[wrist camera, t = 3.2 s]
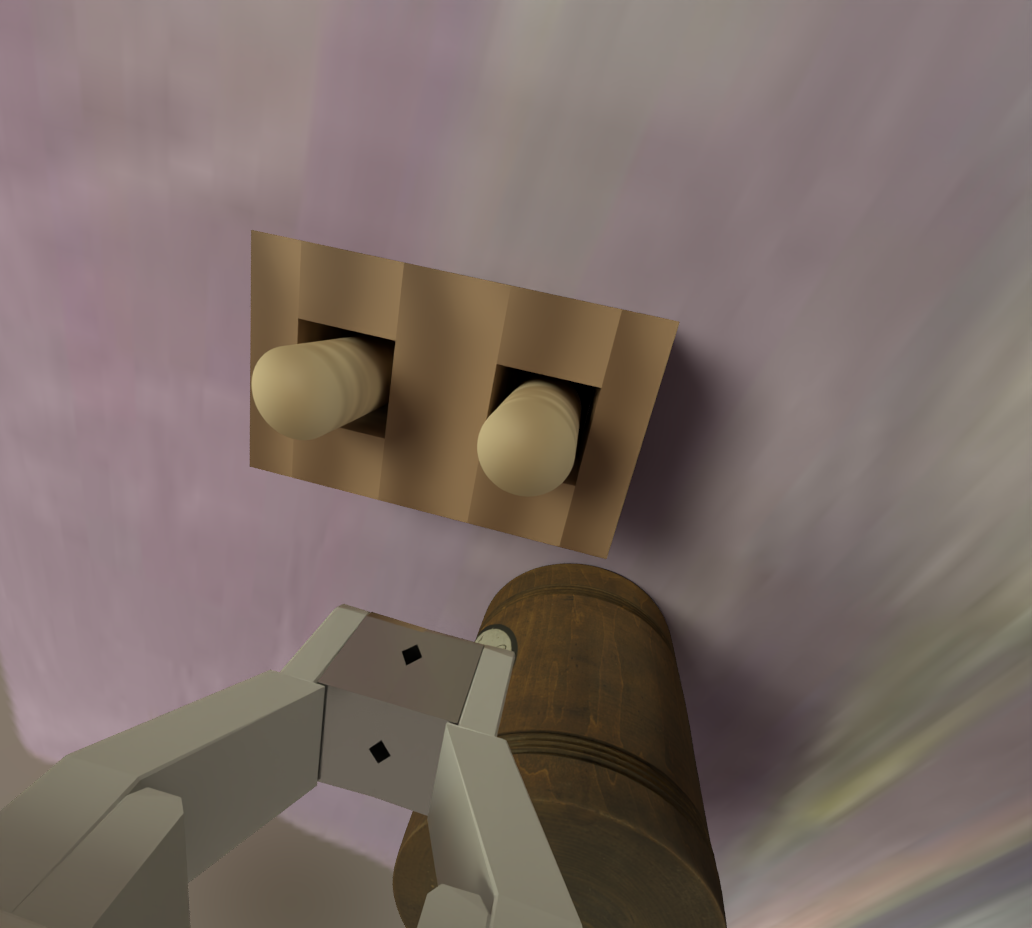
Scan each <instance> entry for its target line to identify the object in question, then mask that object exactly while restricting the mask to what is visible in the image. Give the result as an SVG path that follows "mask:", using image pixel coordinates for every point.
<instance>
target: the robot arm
mask: <svg viewBox="0 0 1032 928" xmlns="http://www.w3.org/2000/svg"><path fill="white" fill-rule="evenodd" d="M514 660H515V653H514V652H513V651H509V650H505V649H501V648H498V647H494V646H490V645H484V644H480V643H476V642H473V641H469V640H465V639H462V638H458V637H454V636H451V635H447V634H443V633H440V632H436V631H432V630H429V629H425V628H422V627H419V626H416V625H412V624H409V623H406V622H403V621H399V620H396V619H393V618H390V617H386V616H383V615H380V614H377V613H373V612H371V613H370V612H368V611H365V610H362V609H358V608H355V607H352V606H349V605H345V604H342V605H340V606H338V607H337V608H335V609H334V610H333V611H332V613H331V614H330V615H329V616H328V617H327V618H326V619H325V621H324V622H323V623H322V624H321V625H320V626H319V628H318V629H317V630H316V631H315V632H314V633H313V634H312V636H311V637H310V638H309V639H308V640H307V641H306V643H305V644H304V645H303V646H302V647H301V648H300V649H299V651H298V652H297V653H296V654H295V655H294V656H293V658H292V659H291V660H290V661H289V662H288V663H287V664H286V666H285V667H284V668H283V669H282V670H281V671H280V672H276V671H272V670H269V671H266V672H264V673H262V674H259V675H257V676H254V677H252V678H250V679H247V680H245V681H243V682H240V683H238V684H235V685H233V686H231V687H228V688H226V689H223V690H221V691H219V692H216V693H214V694H211V695H209V696H207V697H204V698H202V699H199V700H197V701H195V702H192V703H190V704H188V705H185V706H183V707H180V708H178V709H176V710H173V711H171V712H168V713H166V714H164V715H161V716H159V717H156V718H154V719H152V720H149V721H147V722H145V723H142V724H140V725H137V726H135V727H133V728H130V729H128V730H125V731H123V732H121V733H118V734H116V735H113V736H111V737H109V738H106V739H104V740H101V741H99V742H97V743H94V744H92V745H90V746H87V747H85V748H82V749H80V750H78V751H75V752H73V753H70V754H68V755H66V756H65V757H63V758H62V759H61V760H60V761H59V762H58V763H56V764H55V765H54V766H53V767H52V768H51V769H49V770H48V771H47V772H46V773H45V774H43V775H42V776H41V777H40V778H39V779H37V780H36V781H35V782H34V783H33V784H32V785H30V786H29V787H28V788H27V789H26V790H25V791H24V792H22V793H21V794H20V795H19V796H17V797H16V798H15V799H14V800H13V801H11V802H10V803H9V804H8V805H7V806H6V807H4V808H3V809H2V810H1V811H0V928H190V911H189V896H188V883H189V882H190V881H192V880H193V879H194V878H196V877H197V876H198V875H200V874H201V873H202V872H204V871H205V870H206V869H207V868H209V867H210V866H211V865H213V864H214V863H215V862H217V861H218V860H219V859H221V858H222V857H223V856H225V855H226V854H227V853H229V852H230V851H231V850H233V849H234V848H235V847H236V846H238V845H239V844H240V843H242V842H243V841H244V840H246V839H247V838H248V837H250V836H251V835H252V834H253V833H255V832H256V831H258V830H259V829H260V828H262V827H263V826H264V825H265V824H267V823H268V822H269V821H271V820H272V819H273V818H275V817H276V816H277V815H279V814H280V813H281V812H283V811H284V810H285V809H287V808H288V807H289V806H290V805H292V804H293V803H294V802H296V801H297V800H298V799H300V798H301V797H302V796H304V795H305V794H306V793H308V792H309V791H310V790H312V789H313V788H314V787H315V786H317V781H319V782H322V783H326V784H329V785H333V786H336V787H340V788H344V789H347V790H351V791H354V792H358V793H361V794H365V795H369V796H372V797H375V798H378V799H381V800H384V801H386V802H389V803H392V804H395V805H398V806H401V807H404V808H406V809H409V810H412V811H415V812H418V813H421V814H424V815H426V816H428V818H427V821H428V827H429V833H430V839H431V846H432V852H433V858H434V864H435V871H436V877H437V883H438V887H436V888H435V889H434V890H432V891H431V892H429V893H428V894H427V897H426V900H425V903H424V906H423V910H422V913H421V916H420V920H419V923H418V926H417V928H582V924H581V922H580V919H579V917H578V914H577V912H576V909H575V907H574V904H573V902H572V899H571V897H570V895H569V892H568V890H567V887H566V885H565V882H564V880H563V877H562V875H561V873H560V870H559V868H558V865H557V863H556V860H555V858H554V855H553V853H552V851H551V848H550V846H549V843H548V841H547V838H546V836H545V833H544V831H543V829H542V826H541V824H540V821H539V819H538V816H537V814H536V811H535V809H534V807H533V804H532V802H531V799H530V797H529V794H528V792H527V789H526V787H525V785H524V782H523V780H522V777H521V775H520V772H519V770H518V767H517V765H516V763H515V760H514V758H513V755H512V753H511V750H510V748H509V745H508V743H507V741H506V740H504V739H501V738H498V737H497V733H498V729H499V724H500V720H501V716H502V711H503V707H504V703H505V698H506V694H507V690H508V685H509V681H510V677H511V673H512V668H513V664H514Z"/></svg>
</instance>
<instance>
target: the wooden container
mask: <svg viewBox="0 0 1032 928" xmlns="http://www.w3.org/2000/svg"><path fill="white" fill-rule="evenodd" d="M475 642H476V643H480V644H484V645H490V646H494V647H498V648H501V649H505V650H509V651H513V652H514V653H515V660H514V664H513V668H512V673H511V677H510V681H509V685H508V690H507V694H506V698H505V703H504V707H503V711H502V716H501V720H500V724H499V729H498V733H497V737H498V738H501V739H504V740H506V741H507V743H508V745H509V748H510V750H511V753H512V755H513V758H514V760H515V763H516V765H517V767H518V770H519V772H520V775H521V777H522V780H523V782H524V785H525V787H526V789H527V792H528V794H529V797H530V799H531V802H532V804H533V807H534V809H535V811H536V814H537V816H538V819H539V821H540V824H541V826H542V829H543V831H544V833H545V836H546V838H547V841H548V843H549V846H550V848H551V851H552V853H553V855H554V858H555V860H556V863H557V865H558V868H559V870H560V873H561V875H562V877H563V880H564V882H565V885H566V887H567V890H568V892H569V895H570V897H571V899H572V902H573V904H574V907H575V909H576V912H577V914H578V917H579V919H580V922H581V924H582V928H727V926H726V917H725V911H724V904H723V896H722V890H721V885H720V879H719V875H718V871H717V867H716V862H715V858H714V853H713V850H712V846H711V843H710V838H709V832H708V827H707V822H706V816H705V811H704V805H703V800H702V794H701V789H700V783H699V778H698V773H697V767H696V761H695V756H694V750H693V743H692V737H691V731H690V725H689V720H688V715H687V709H686V704H685V700H684V695H683V690H682V686H681V682H680V677H679V672H678V668H677V663H676V658H675V653H674V648H673V644H672V639H671V635H670V632H669V629H668V626H667V624H666V621H665V619H664V617H663V615H662V613H661V612H660V610H659V608H658V607H657V606H656V604H655V603H654V602H653V600H652V599H651V598H650V597H649V596H648V595H647V594H646V593H645V592H644V591H643V590H642V589H640V588H639V587H638V586H637V585H635V584H634V583H632V582H631V581H629V580H627V579H626V578H624V577H622V576H620V575H618V574H616V573H613V572H611V571H608V570H605V569H602V568H598V567H594V566H589V565H583V564H555V565H548V566H543V567H539V568H536V569H533V570H530V571H528V572H525V573H523V574H521V575H520V576H518V577H516V578H514V579H513V580H511V581H510V582H509V583H508V584H506V585H505V586H504V587H503V588H502V589H501V590H500V591H499V592H498V593H497V594H496V596H495V597H494V598H493V600H492V601H491V603H490V605H489V607H488V609H487V611H486V614H485V616H484V619H483V621H482V624H481V627H480V629H479V632H478V635H477V638H476V640H475ZM427 818H428V816H426V815H424V814H421V813H418V812H415V811H413V812H412V815H411V818H410V821H409V823H408V826H407V829H406V831H405V834H404V837H403V840H402V843H401V846H400V849H399V852H398V856H397V859H396V863H395V867H394V873H393V892H394V898H395V902H396V905H397V908H398V911H399V914H400V917H401V919H402V921H403V923H404V925H405V927H406V928H417V926H418V923H419V920H420V916H421V913H422V910H423V906H424V903H425V900H426V897H427V894H428V893H429V892H431V891H432V890H434V889H435V888H436V887H438V883H437V877H436V871H435V864H434V858H433V852H432V846H431V839H430V833H429V827H428V821H427Z"/></svg>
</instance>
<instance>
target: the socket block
mask: <svg viewBox="0 0 1032 928" xmlns="http://www.w3.org/2000/svg"><path fill="white" fill-rule="evenodd" d="M678 325H679V322H678V321H673V320H669V319H664V318H660V317H655V316H650V315H646V314H641V313H636V312H632V311H627V310H622V309H618V308H613V307H608V306H604V305H599V304H594V303H590V302H585V301H580V300H576V299H571V298H567V297H562V296H557V295H553V294H548V293H543V292H539V291H534V290H529V289H525V288H520V287H515V286H511V285H506V284H501V283H497V282H492V281H487V280H483V279H478V278H473V277H469V276H464V275H459V274H455V273H450V272H445V271H441V270H436V269H431V268H427V267H422V266H417V265H413V264H408V263H404V262H399V261H394V260H390V259H385V258H380V257H376V256H371V255H366V254H362V253H357V252H352V251H348V250H343V249H338V248H334V247H329V246H324V245H320V244H315V243H310V242H306V241H301V240H296V239H292V238H287V237H282V236H277V235H273V234H268V233H263V232H259V231H254V230H251V359H250V467H254V468H258V469H262V470H266V471H269V472H273V473H277V474H281V475H285V476H289V477H293V478H296V479H300V480H304V481H308V482H312V483H316V484H319V485H323V486H327V487H331V488H335V489H339V490H343V491H346V492H350V493H354V494H358V495H362V496H366V497H370V498H373V499H377V500H381V501H385V502H389V503H393V504H396V505H400V506H404V507H408V508H412V509H416V510H420V511H423V512H427V513H431V514H435V515H439V516H443V517H447V518H450V519H454V520H458V521H462V522H466V523H470V524H473V525H477V526H481V527H485V528H489V529H493V530H497V531H500V532H504V533H508V534H512V535H516V536H520V537H524V538H527V539H531V540H535V541H539V542H543V543H547V544H550V545H554V546H558V547H562V548H566V549H570V550H574V551H577V552H581V553H585V554H589V555H593V556H597V557H601V558H604V559H607V555H608V552H609V549H610V546H611V542H612V539H613V536H614V533H615V530H616V526H617V523H618V520H619V517H620V513H621V510H622V507H623V504H624V500H625V497H626V494H627V491H628V487H629V484H630V481H631V478H632V474H633V471H634V468H635V465H636V461H637V458H638V455H639V452H640V448H641V445H642V442H643V439H644V435H645V432H646V429H647V426H648V423H649V419H650V416H651V413H652V410H653V406H654V403H655V400H656V397H657V393H658V390H659V387H660V384H661V380H662V377H663V374H664V371H665V367H666V364H667V361H668V358H669V354H670V351H671V348H672V345H673V341H674V338H675V335H676V332H677V328H678ZM361 335H373V336H377V337H382V338H386V339H390V340H395V350H394V360H393V369H392V378H391V387H390V396H389V404H387V405H385V406H383V407H381V408H379V409H377V410H375V411H372V412H370V413H368V414H366V415H364V416H362V417H360V418H358V419H356V420H354V421H352V422H350V423H347V424H345V425H343V426H341V427H339V428H337V429H335V430H333V431H331V432H329V433H327V434H325V435H323V436H320V437H318V438H316V439H312V440H296V439H292V438H289V437H286V436H284V435H282V434H280V433H279V432H277V431H276V430H275V429H273V428H272V427H271V426H270V425H269V424H268V423H267V422H266V421H265V420H264V418H263V417H262V415H261V414H260V412H259V410H258V409H257V406H256V404H255V401H254V398H253V394H252V375H253V371H254V368H255V366H256V364H257V362H258V361H259V359H260V358H261V357H262V356H263V355H264V354H265V353H266V352H268V351H269V350H271V349H273V348H276V347H280V346H287V345H295V344H302V343H309V342H317V341H324V340H332V339H339V338H346V337H354V336H361ZM519 369H521V370H525V371H530V372H534V373H538V374H543V375H547V376H552V377H556V378H560V379H565V380H569V381H573V382H578V383H582V384H586V385H591V386H594V390H593V394H592V397H591V401H590V405H589V409H588V413H587V417H586V421H585V424H584V428H583V432H582V436H581V438H578V439H577V446H576V453H575V459H574V464H573V467H572V469H571V471H570V473H569V475H568V476H567V478H566V479H565V480H564V481H563V483H562V484H560V485H559V486H558V487H557V488H555V489H554V490H552V491H550V492H548V493H546V494H542V495H539V496H531V497H526V496H518V495H514V494H511V493H508V492H506V491H504V490H502V489H501V488H499V487H498V486H496V485H495V484H494V483H493V482H492V481H491V480H490V479H489V478H488V477H487V475H486V474H485V472H484V471H483V469H482V467H481V464H480V462H479V458H478V452H477V442H478V436H479V433H480V430H481V428H482V426H483V424H484V422H485V421H486V420H487V419H488V417H489V416H490V415H491V414H492V413H493V412H494V411H495V410H496V409H497V408H498V407H499V406H500V405H501V404H502V403H503V401H504V400H505V399H506V398H507V397H508V396H509V395H510V394H511V393H512V392H513V391H514V390H515V389H516V384H517V379H518V374H519Z"/></svg>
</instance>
